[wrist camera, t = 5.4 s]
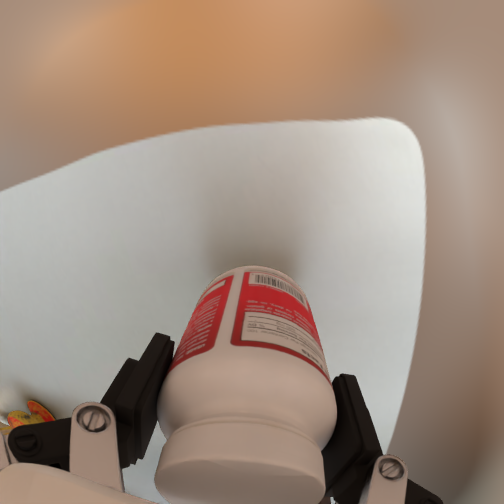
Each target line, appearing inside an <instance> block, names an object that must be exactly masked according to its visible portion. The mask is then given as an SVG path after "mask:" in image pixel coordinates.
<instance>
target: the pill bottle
mask: <svg viewBox="0 0 504 504" xmlns="http://www.w3.org/2000/svg"><path fill="white" fill-rule="evenodd" d="M157 417H158V422H159V425H160V428H161V430H162V432H163V434H164V436H165V438H166V439H167V442H166V443H165V445H164V446H163V448H162V452H161V455H160V459H159V463H158V466H157V470H156V473H155V478H154V481H155V485H156V488H157V490H158V491H159V493H160V494H161V495H162V496H163V497H164V498H165V499H166V500H167V501H168V502H170V503H171V504H318V503H319V502H320V501H321V500H322V498H323V497H324V494H325V490H326V487H325V476H324V467H323V457H322V454H321V451H322V450H323V448H324V447H325V446H326V445H327V443H328V442H329V440H330V438H331V436H332V434H333V432H334V429H335V426H336V421H337V405H336V400H335V395H334V390H333V387H332V384H331V380H330V376H329V372H328V368H327V365H326V362H325V358H324V354H323V349H322V347H321V343H320V339H319V335H318V332H317V329H316V325H315V322H314V319H313V316H312V312H311V309H310V306H309V303H308V300H307V298H306V296H305V294H304V292H303V291H302V289H301V288H300V287H299V285H298V284H297V283H296V282H295V281H294V280H293V279H291V278H290V277H289V276H287V275H286V274H284V273H282V272H280V271H278V270H275V269H272V268H269V267H264V266H243V267H238V268H234V269H231V270H229V271H227V272H225V273H223V274H221V275H220V276H218V277H217V278H215V279H214V280H213V281H212V282H211V283H210V284H209V285H208V286H207V287H206V289H205V290H204V292H203V294H202V295H201V297H200V299H199V301H198V303H197V305H196V308H195V310H194V312H193V314H192V317H191V319H190V321H189V323H188V325H187V328H186V330H185V332H184V334H183V336H182V339H181V341H180V344H179V346H178V348H177V350H176V353H175V355H174V357H173V359H172V362H171V364H170V367H169V369H168V371H167V373H166V376H165V378H164V381H163V383H162V386H161V389H160V392H159V395H158V399H157Z"/></svg>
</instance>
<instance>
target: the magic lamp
mask: <svg viewBox="0 0 504 504" xmlns="http://www.w3.org/2000/svg"><path fill="white" fill-rule="evenodd" d="M27 405H28V408H29V410H30V412H31V415H29V414H27V413H25V412H22V411H12V412H10V413H9V414H8V423H9V425H10V426H8V427H4V428H0V430H9V429H14V428H15V427H17V426H21V425H27V424H35V423H41V422H48V421H54V420H55V419H54V417H53V416H52V415H51V414H50V413H49V412H48V411H47V410H46V409H45V408H44V407H43V406H41V405H40V404H39V403H37V402H35V401H32V400H29V401H28V402H27ZM7 434H9V433H5V434H3V435H7Z"/></svg>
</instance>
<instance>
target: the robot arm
mask: <svg viewBox="0 0 504 504" xmlns="http://www.w3.org/2000/svg"><path fill="white" fill-rule="evenodd" d="M174 344H175V342H174V341H171V340H170V336H167V335H164V334H161V333H157V332H156V333H155V335H154V336H153V338H152V340H151V341H150V343H149V345H148V346H147V348H146V350H145V352H144V353H143V355H142V357H141V358H140V360H139V361H137V360H134V359H131V358H128V359H127V360H126V362H125V363H124V365H123V366H122V368H121V369H120V371H119V373H118V374H117V376H116V377H115V379H114V381H113V382H112V384H111V385H110V387H109V389H108V390H107V392H106V394H105V395H104V397H103V398H102V400H101V402H100V403H97V402H85V403H82V404H80V405H78V406H77V407H76V408H75V409H74V410H73V413H72V417H71V418H65V419H60V420H54V421H48V422H41V423H35V424H27V425H21V426H17V427H15V428H14V429H12V430H11V432H10V433H9V434H7V435H3V433H2V432H0V504H158V503H155V502H151V501H148V500H145V499H142V498H138V497H135V496H132V495H129V494H126V493H125V488H124V480H123V473H122V469H123V468H126V467H129V466H130V463H131V464H134V465H135V464H136V461H137V459H138V458H139V459H143V458H144V455H145V452H146V450H147V447H148V444H149V442H150V439H151V436H152V434H153V431H154V428H155V426H156V423H157V421H158V417H157V399H158V395H159V392H160V389H161V386H162V383H163V381H164V378H165V376H166V373H167V371H168V369H169V367H170V364H171V362H172V358H173V351H174ZM332 387H333V390H334V395H335V400H336V405H337V421H336V426H335V429H334V432H333V434H332V436H331V438H330V440H329V442H328V443H327V445H326V446H325V447H324V448H323V450H322V451H321V454H322V457H323V467H324V476H325V487H326V490H325V494H324V497H333V498H334V501H336V502H335V504H443V502H442V500H441V499H440V498H439V497H438V496H436V495H435V494H432V493H431V492H429V491H428V490H426V489H424V488H423V487H421V486H419V485H418V484H416V483H414V482H413V481H411V480H409V479H408V478H407V477H408V469H407V466H406V464H405V463H404V462H403V460H401V459H400V458H399V457H397V456H394V455H389V454H387V455H383V453H382V450H381V446H380V443H379V440H378V437H377V434H376V431H375V428H374V425H373V422H372V419H371V416H370V413H369V411H368V409H367V407H366V405H365V402H364V399H363V396H362V393H361V390H360V388H359V385H358V382H357V379H356V377H355V376H354V375H349V374H340V375H339V377H338V376H336V377H335V378H334V380H333V382H332Z"/></svg>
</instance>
